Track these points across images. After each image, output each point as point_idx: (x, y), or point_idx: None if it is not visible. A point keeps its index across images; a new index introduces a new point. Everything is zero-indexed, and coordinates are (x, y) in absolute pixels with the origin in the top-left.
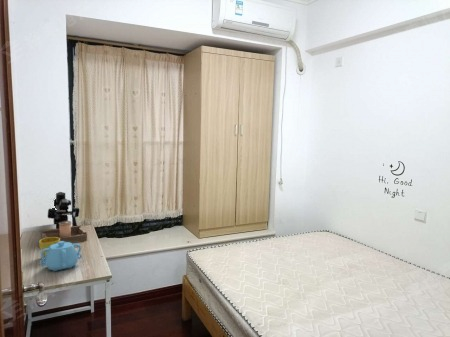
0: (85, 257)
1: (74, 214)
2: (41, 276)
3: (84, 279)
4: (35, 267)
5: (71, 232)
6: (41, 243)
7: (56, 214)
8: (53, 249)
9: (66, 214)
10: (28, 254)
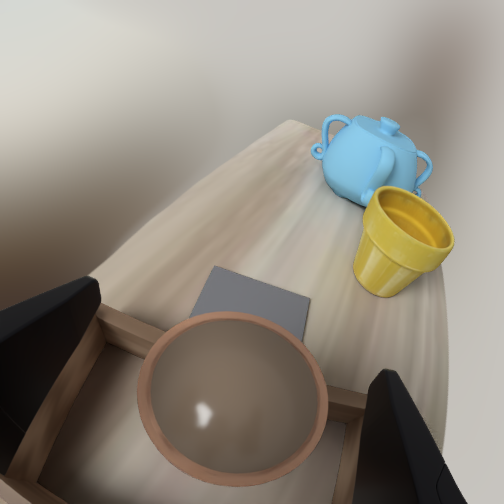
0: (276, 179)
1: (27, 303)
2: None
3: (333, 135)
4: None
5: None
6: (442, 220)
7: (436, 467)
8: (406, 136)
9: None
10: (442, 364)
